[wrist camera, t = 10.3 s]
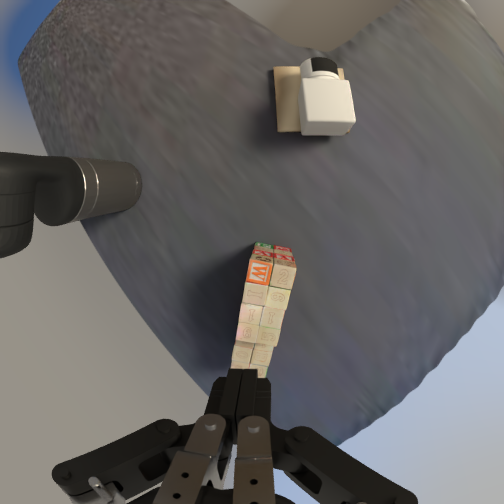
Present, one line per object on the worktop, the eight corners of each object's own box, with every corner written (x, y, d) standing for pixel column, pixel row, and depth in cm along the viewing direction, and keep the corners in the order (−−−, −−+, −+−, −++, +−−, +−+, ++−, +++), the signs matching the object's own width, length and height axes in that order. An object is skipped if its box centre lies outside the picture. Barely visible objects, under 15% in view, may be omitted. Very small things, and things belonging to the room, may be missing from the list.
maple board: (277, 132, 43) (277, 130, 42) (273, 69, 40) (273, 66, 39) (347, 133, 42) (349, 131, 41) (341, 71, 40) (342, 68, 38)
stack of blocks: (266, 351, 53) (263, 392, 41) (234, 345, 53) (225, 385, 41) (291, 247, 48) (297, 268, 36) (255, 240, 48) (249, 258, 36)
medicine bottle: (344, 136, 41) (335, 74, 39) (356, 122, 34) (343, 54, 32) (301, 136, 41) (294, 73, 40) (306, 121, 34) (297, 52, 33)
